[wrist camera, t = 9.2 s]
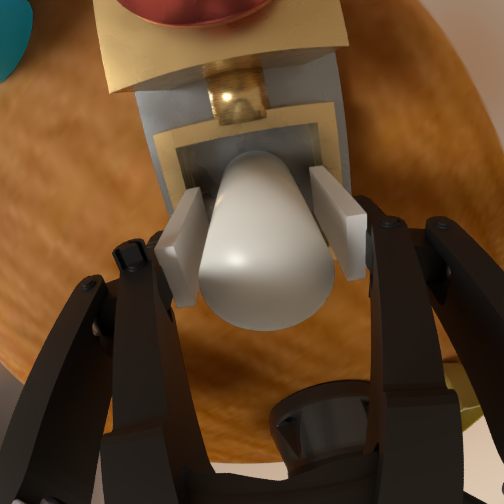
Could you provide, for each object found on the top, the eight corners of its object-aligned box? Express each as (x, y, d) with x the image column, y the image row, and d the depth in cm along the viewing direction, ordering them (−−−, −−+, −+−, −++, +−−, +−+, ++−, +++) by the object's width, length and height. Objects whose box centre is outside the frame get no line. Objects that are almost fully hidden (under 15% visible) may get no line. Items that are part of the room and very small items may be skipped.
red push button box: (349, 245, 22) (408, 358, 12) (192, 271, 22) (163, 395, 13) (304, -52, 10) (354, -145, 1) (119, -14, 11) (21, -70, 2)
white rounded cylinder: (296, 211, 19) (335, 319, 10) (229, 222, 19) (217, 337, 11) (286, 145, 17) (331, 208, 8) (214, 158, 17) (181, 234, 9)
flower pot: (397, 393, 34) (415, 448, 26) (434, 351, 29) (463, 410, 22) (437, 390, 35) (457, 437, 27) (472, 352, 31) (499, 400, 23)
